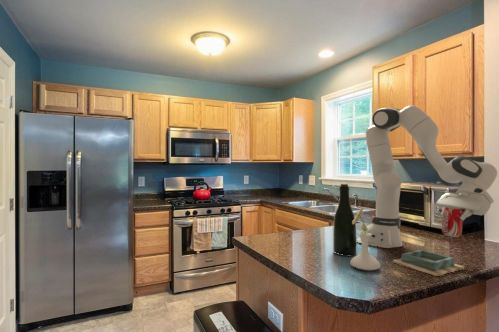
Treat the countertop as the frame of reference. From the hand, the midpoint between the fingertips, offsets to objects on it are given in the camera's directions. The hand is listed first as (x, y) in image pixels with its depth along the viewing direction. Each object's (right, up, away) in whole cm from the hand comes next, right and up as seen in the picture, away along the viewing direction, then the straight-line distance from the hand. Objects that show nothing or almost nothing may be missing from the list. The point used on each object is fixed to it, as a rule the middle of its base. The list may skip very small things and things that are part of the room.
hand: (451, 217), depth 122 cm
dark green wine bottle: (-41, -20, +14) cm, 47 cm away
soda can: (0, -8, 0) cm, 8 cm away
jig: (-13, -19, -4) cm, 23 cm away
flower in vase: (-39, -20, -6) cm, 45 cm away
